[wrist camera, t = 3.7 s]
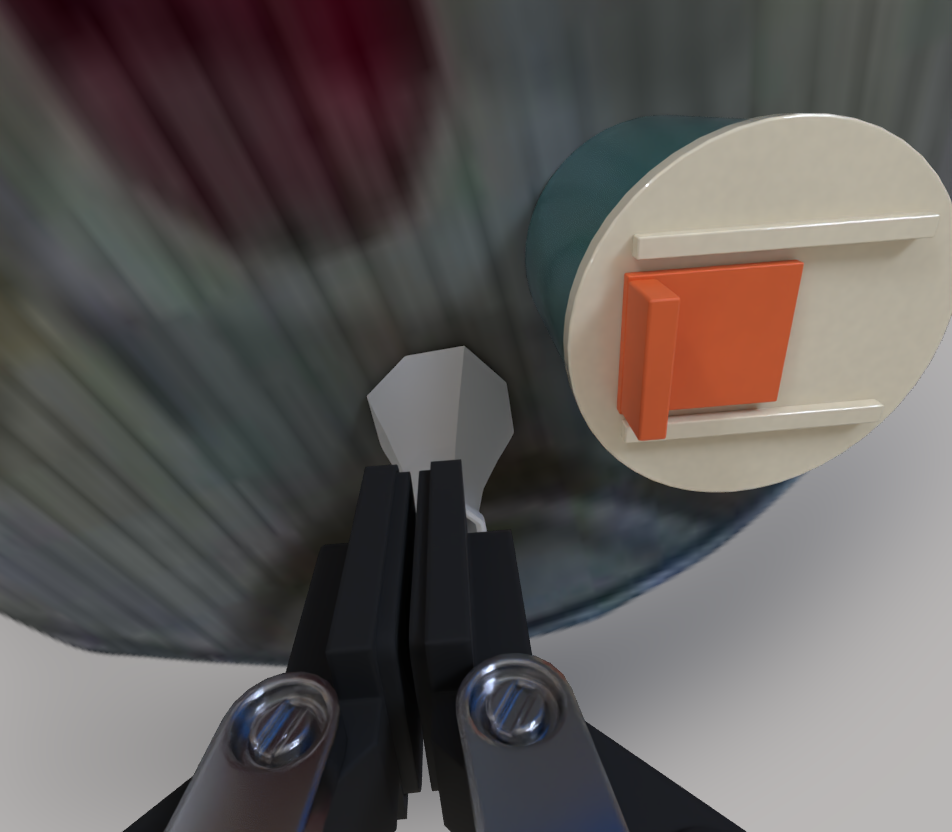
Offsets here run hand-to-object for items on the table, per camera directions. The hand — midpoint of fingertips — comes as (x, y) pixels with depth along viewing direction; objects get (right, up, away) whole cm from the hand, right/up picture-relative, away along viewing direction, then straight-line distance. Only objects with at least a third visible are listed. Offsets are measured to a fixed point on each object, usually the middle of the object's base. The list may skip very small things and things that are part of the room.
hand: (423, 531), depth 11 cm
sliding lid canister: (+9, +10, +16) cm, 21 cm away
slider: (+8, +4, +7) cm, 11 cm away
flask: (-1, +2, +20) cm, 20 cm away
